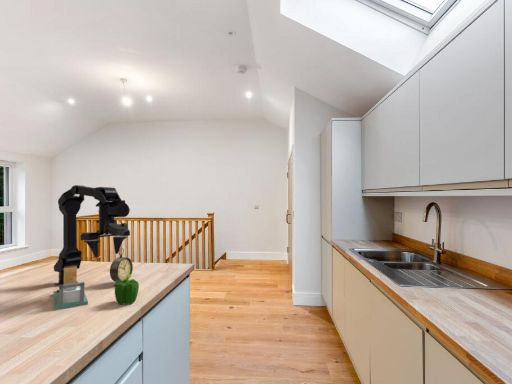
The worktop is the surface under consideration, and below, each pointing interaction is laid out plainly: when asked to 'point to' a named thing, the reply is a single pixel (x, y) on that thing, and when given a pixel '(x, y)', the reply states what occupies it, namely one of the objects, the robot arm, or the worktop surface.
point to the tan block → (70, 276)
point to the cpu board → (67, 305)
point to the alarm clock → (121, 268)
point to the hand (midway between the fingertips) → (106, 255)
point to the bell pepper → (126, 291)
